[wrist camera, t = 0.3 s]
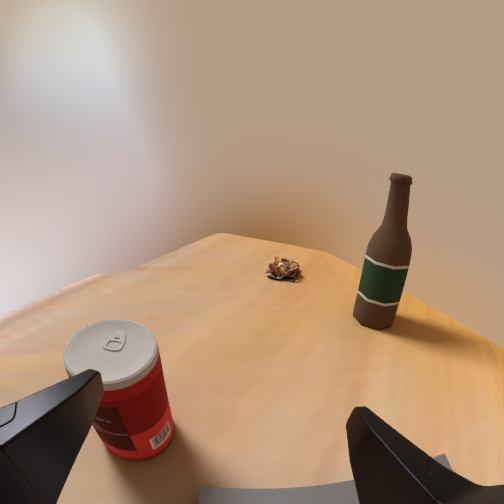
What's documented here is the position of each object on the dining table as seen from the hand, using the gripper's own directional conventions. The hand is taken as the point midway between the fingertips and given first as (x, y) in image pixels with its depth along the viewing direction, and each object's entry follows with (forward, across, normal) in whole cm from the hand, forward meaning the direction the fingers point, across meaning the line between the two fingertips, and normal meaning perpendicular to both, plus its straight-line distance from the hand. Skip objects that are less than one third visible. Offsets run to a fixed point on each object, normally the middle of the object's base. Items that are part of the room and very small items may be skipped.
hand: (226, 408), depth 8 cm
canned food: (+10, +8, +17) cm, 21 cm away
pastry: (+53, -10, +11) cm, 55 cm away
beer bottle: (+33, -24, +11) cm, 42 cm away
